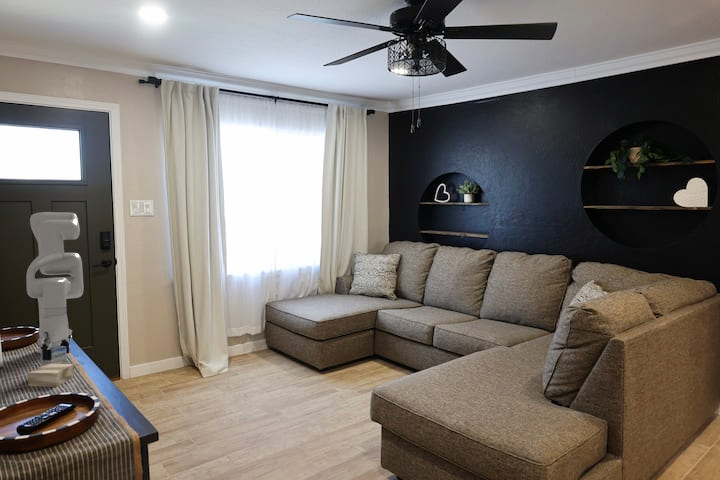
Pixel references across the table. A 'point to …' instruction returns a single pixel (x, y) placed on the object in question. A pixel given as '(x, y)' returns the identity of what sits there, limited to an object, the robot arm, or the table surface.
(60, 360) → the medicine box
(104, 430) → the table surface
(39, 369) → the wooden block
